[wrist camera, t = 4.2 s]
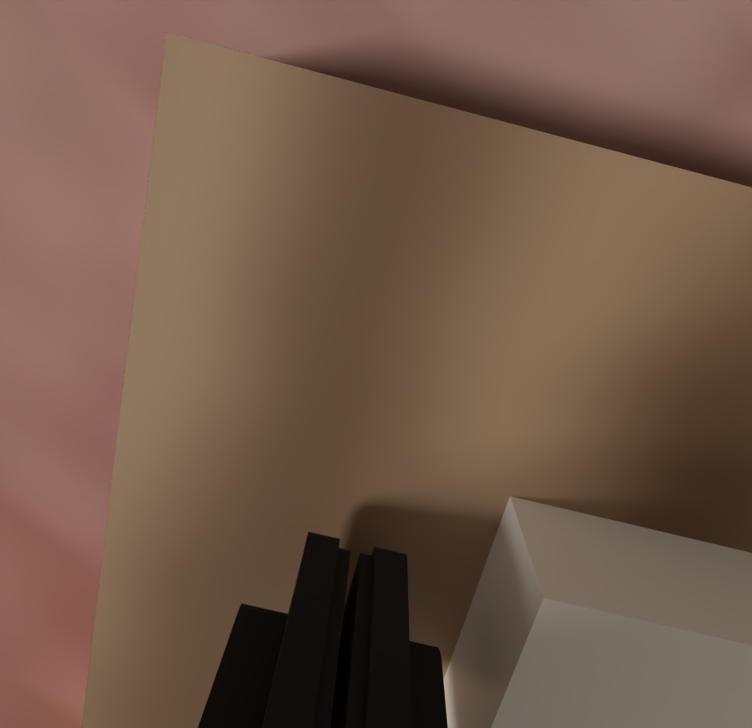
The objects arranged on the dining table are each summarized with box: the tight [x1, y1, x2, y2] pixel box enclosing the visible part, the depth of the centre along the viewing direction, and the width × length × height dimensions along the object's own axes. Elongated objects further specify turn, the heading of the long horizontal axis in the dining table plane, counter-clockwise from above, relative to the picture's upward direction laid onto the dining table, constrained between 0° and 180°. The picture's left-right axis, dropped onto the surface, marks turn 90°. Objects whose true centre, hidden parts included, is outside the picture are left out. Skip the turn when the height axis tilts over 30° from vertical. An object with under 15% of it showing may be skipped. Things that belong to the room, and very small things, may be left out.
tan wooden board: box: [82, 32, 752, 728], centre depth 13 cm, size 20×16×3 cm
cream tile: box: [444, 496, 752, 728], centre depth 10 cm, size 5×5×2 cm
